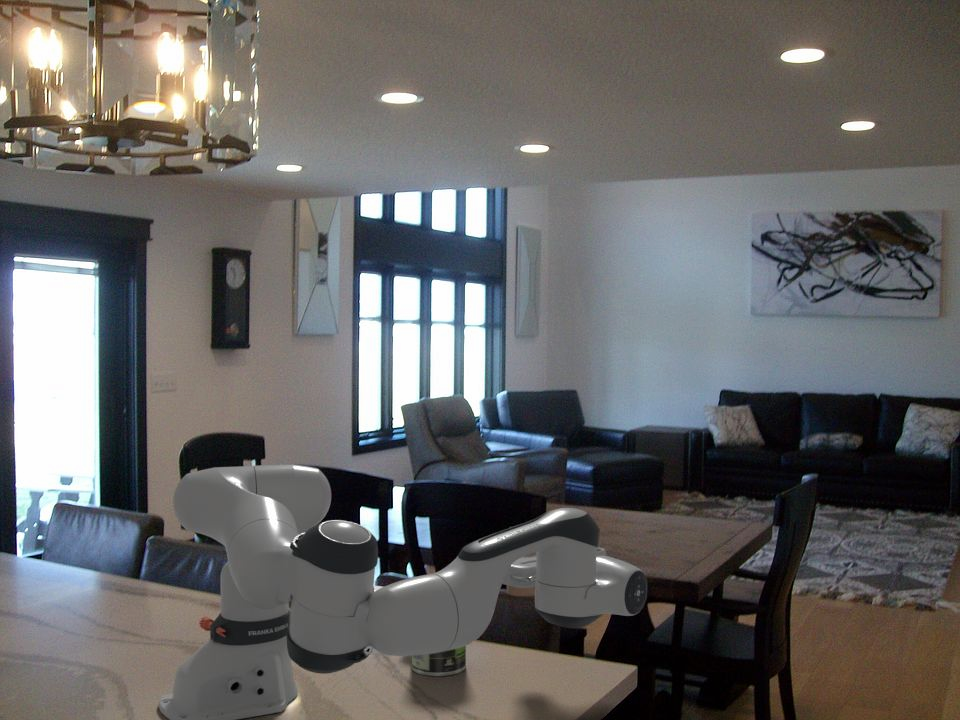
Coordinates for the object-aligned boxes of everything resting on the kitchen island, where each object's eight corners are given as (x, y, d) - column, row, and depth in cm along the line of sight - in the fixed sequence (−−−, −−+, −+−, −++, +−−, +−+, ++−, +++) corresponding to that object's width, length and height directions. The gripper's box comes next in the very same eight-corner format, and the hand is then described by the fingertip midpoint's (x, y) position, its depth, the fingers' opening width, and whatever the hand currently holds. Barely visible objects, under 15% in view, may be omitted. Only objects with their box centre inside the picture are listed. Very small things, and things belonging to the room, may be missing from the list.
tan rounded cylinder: (519, 597, 178) (520, 536, 177) (500, 591, 182) (501, 531, 182) (542, 593, 181) (543, 533, 181) (523, 586, 185) (523, 528, 185)
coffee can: (474, 661, 186) (474, 586, 185) (454, 679, 176) (454, 600, 176) (423, 655, 189) (423, 581, 189) (401, 672, 180) (401, 595, 179)
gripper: (524, 601, 165) (473, 584, 176) (611, 582, 177) (559, 567, 188) (524, 563, 165) (473, 548, 176) (612, 547, 177) (559, 534, 188)
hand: (518, 558), depth 182 cm, fingers closed on tan rounded cylinder, 5 cm apart
